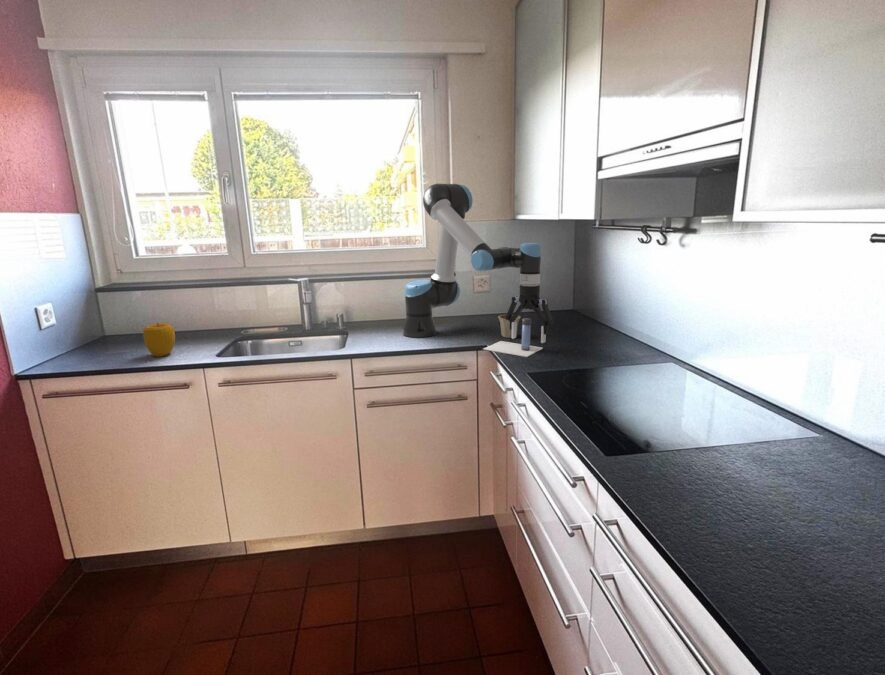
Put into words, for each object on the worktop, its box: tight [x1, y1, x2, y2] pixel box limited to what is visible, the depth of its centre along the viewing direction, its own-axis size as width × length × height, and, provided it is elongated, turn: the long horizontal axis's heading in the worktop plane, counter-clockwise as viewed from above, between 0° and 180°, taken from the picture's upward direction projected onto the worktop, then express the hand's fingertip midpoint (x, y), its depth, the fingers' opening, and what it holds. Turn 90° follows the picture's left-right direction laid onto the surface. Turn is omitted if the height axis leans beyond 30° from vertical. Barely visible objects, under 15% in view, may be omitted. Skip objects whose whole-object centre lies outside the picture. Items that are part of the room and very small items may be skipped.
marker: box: [521, 317, 532, 351], centre depth 184 cm, size 3×3×12 cm
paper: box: [482, 340, 544, 358], centre depth 187 cm, size 19×14×1 cm
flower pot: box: [498, 314, 521, 339], centre depth 206 cm, size 9×9×9 cm
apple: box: [142, 322, 176, 358], centre depth 187 cm, size 11×11×13 cm
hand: (528, 340), depth 186 cm, fingers open, 12 cm apart
